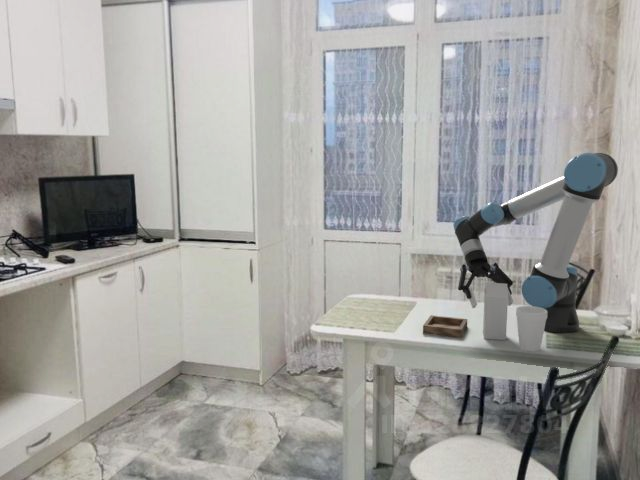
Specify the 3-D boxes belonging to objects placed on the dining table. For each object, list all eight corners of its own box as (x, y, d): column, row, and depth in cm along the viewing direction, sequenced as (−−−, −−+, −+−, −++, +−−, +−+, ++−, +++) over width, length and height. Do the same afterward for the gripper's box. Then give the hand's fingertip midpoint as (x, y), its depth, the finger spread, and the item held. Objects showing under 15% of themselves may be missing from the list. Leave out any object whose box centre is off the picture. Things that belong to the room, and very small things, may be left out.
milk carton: (505, 340, 199) (508, 286, 196) (484, 339, 200) (486, 285, 197) (503, 334, 206) (506, 281, 203) (482, 332, 207) (485, 280, 204)
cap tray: (467, 326, 214) (467, 319, 213) (461, 338, 202) (461, 329, 201) (430, 322, 219) (430, 315, 218) (422, 333, 207) (423, 325, 206)
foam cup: (513, 342, 197) (515, 305, 195) (542, 344, 195) (544, 306, 193) (516, 352, 188) (518, 313, 185) (547, 354, 186) (549, 314, 184)
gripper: (501, 258, 219) (521, 308, 207) (439, 261, 214) (455, 312, 202) (509, 247, 213) (530, 297, 201) (445, 250, 208) (463, 301, 196)
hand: (493, 305), depth 202 cm, fingers open, 13 cm apart
